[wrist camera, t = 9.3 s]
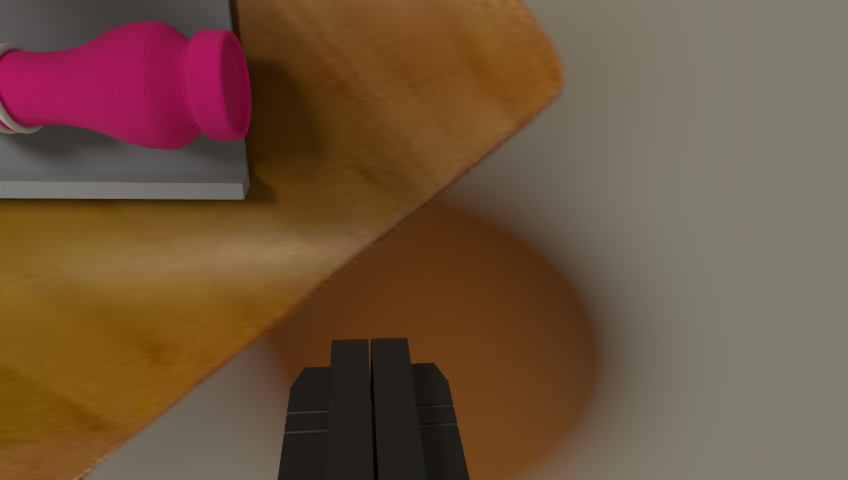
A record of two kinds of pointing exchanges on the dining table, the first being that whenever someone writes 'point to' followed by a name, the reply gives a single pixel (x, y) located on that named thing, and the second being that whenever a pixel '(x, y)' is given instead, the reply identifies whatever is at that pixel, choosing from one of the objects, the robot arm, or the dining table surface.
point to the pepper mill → (132, 86)
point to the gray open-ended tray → (98, 153)
